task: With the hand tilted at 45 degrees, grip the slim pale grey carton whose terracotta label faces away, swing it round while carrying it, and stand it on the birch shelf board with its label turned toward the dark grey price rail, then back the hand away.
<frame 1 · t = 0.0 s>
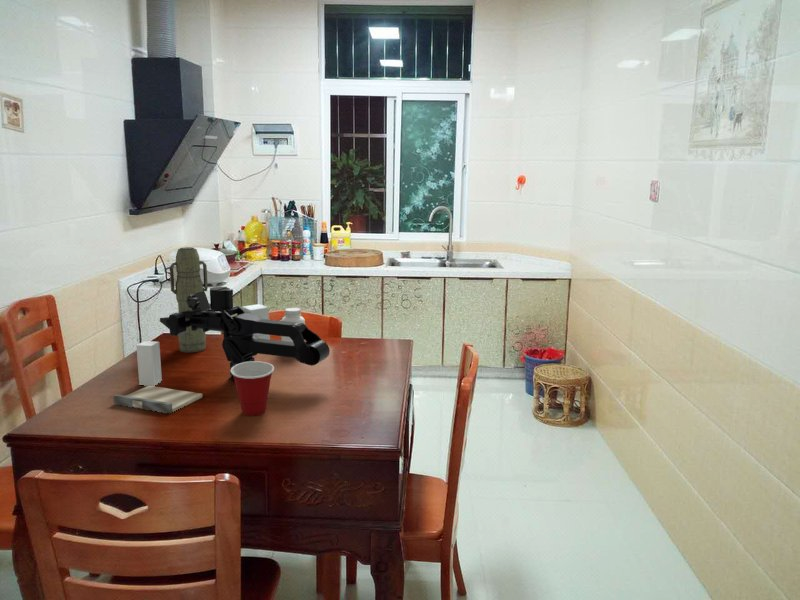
hand: (170, 316, 193), 17 cm above the table, tool horizontal, fingers open, 9 cm apart
grey carton: (150, 383, 182), on the table
supplement box: (256, 341, 230), on the table
plastic cup: (254, 412, 162), on the table
thermos: (192, 349, 218), on the table
pill bottle: (293, 352, 215), on the table
shelf board: (160, 400, 169), on the table
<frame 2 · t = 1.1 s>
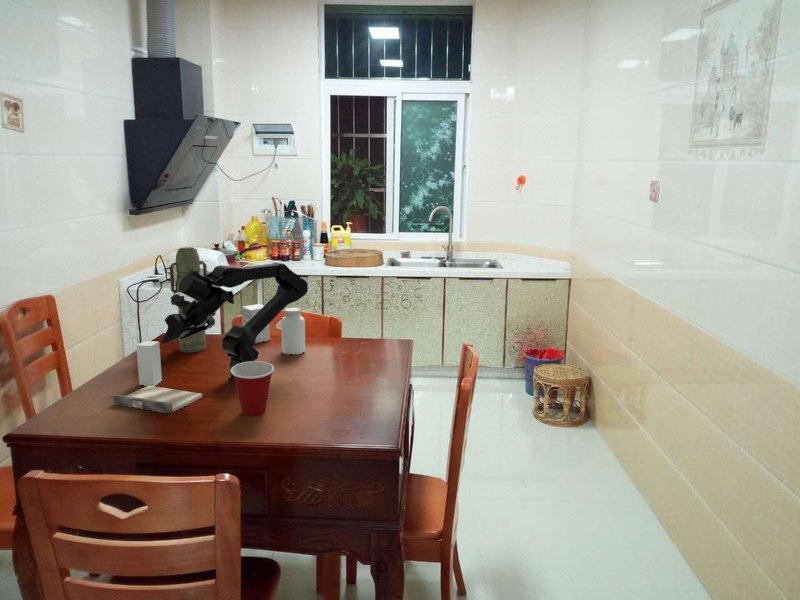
hand: (171, 340, 181), 13 cm above the table, tool tilted 45°, fingers open, 9 cm apart
nothing on the table moved.
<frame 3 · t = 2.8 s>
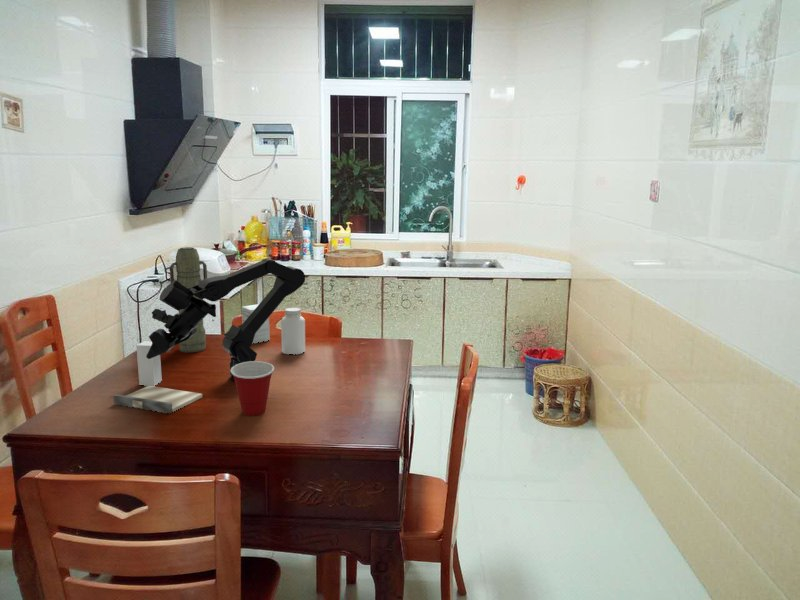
hand: (155, 353, 180), 9 cm above the table, tool tilted 45°, fingers open, 9 cm apart
nothing on the table moved.
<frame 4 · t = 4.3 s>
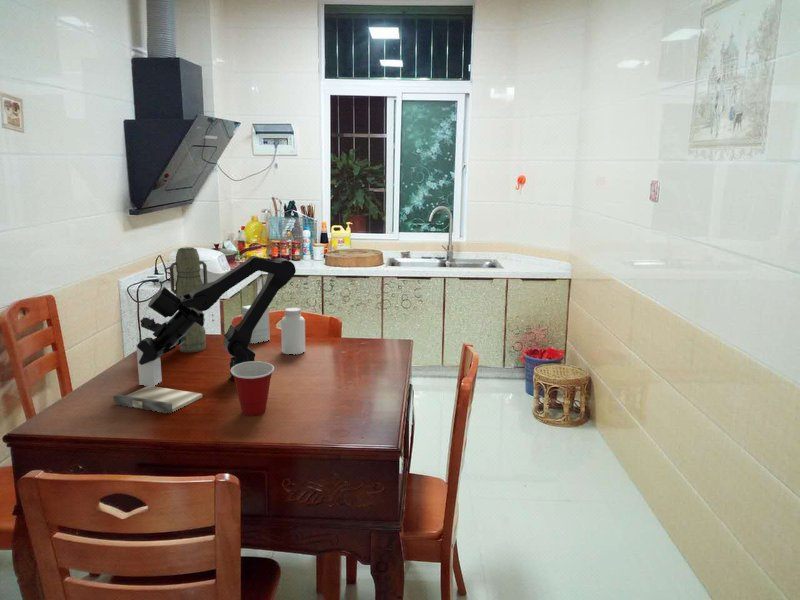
hand: (144, 361, 181), 7 cm above the table, tool tilted 45°, fingers closed on grey carton, 4 cm apart
grey carton: (150, 383, 182), on the table, touching gripper
everything else where it was.
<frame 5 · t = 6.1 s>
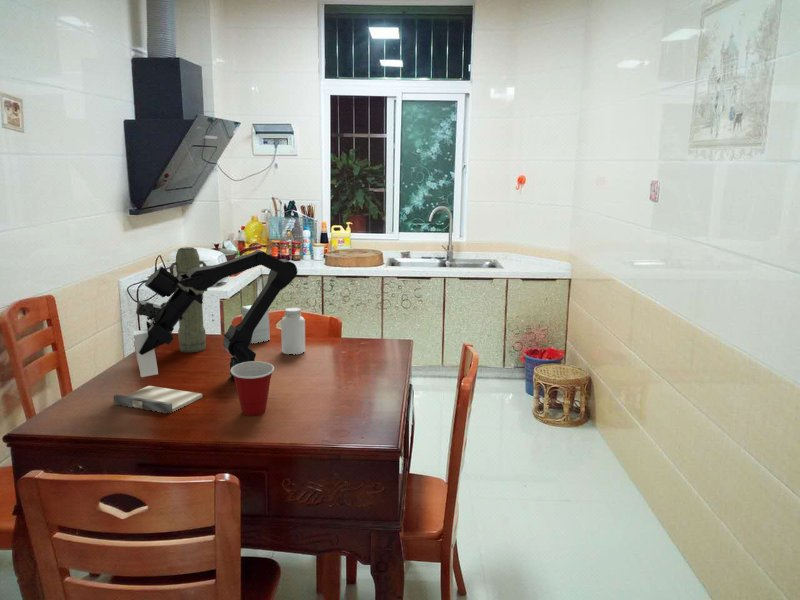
hand: (140, 351, 173), 12 cm above the table, tool tilted 40°, fingers closed on grey carton, 4 cm apart
grey carton: (149, 373, 175), point 5 cm above the table, touching gripper
everything else where it was.
when the fingers open (9 cm above the table, at t = 8.0 s): grey carton drops 1 cm, resting on shelf board.
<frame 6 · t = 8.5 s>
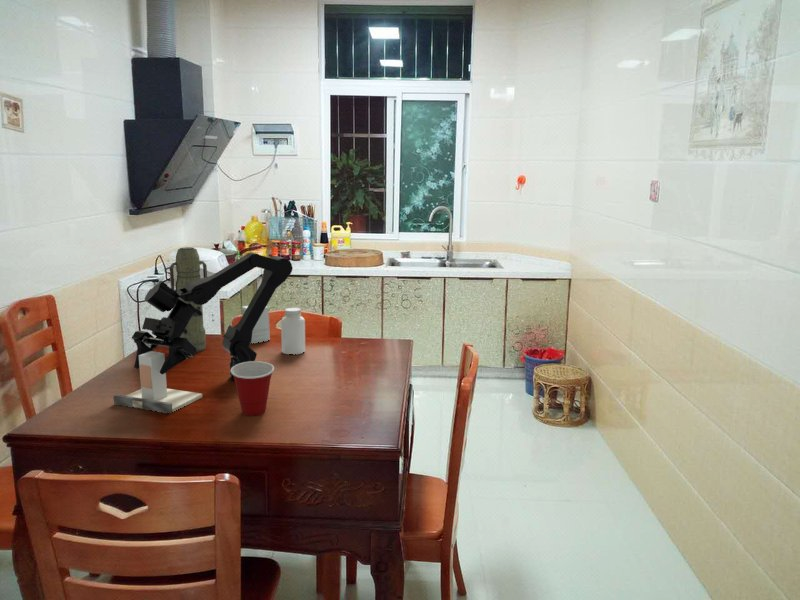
hand: (148, 371, 165), 9 cm above the table, tool tilted 45°, fingers open, 9 cm apart
grey carton: (154, 397, 168), point 1 cm above the table, touching shelf board
everything else where it was.
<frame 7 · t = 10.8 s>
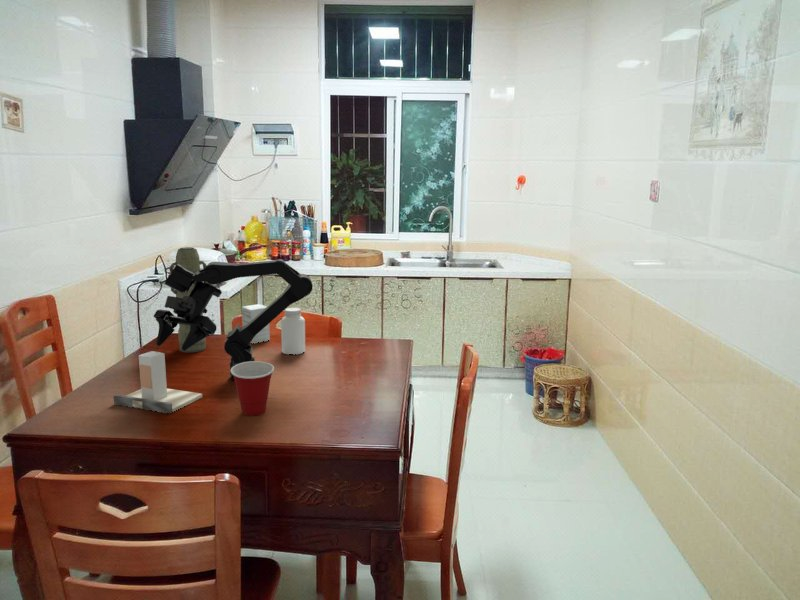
hand: (170, 347, 172), 13 cm above the table, tool tilted 45°, fingers open, 9 cm apart
nothing on the table moved.
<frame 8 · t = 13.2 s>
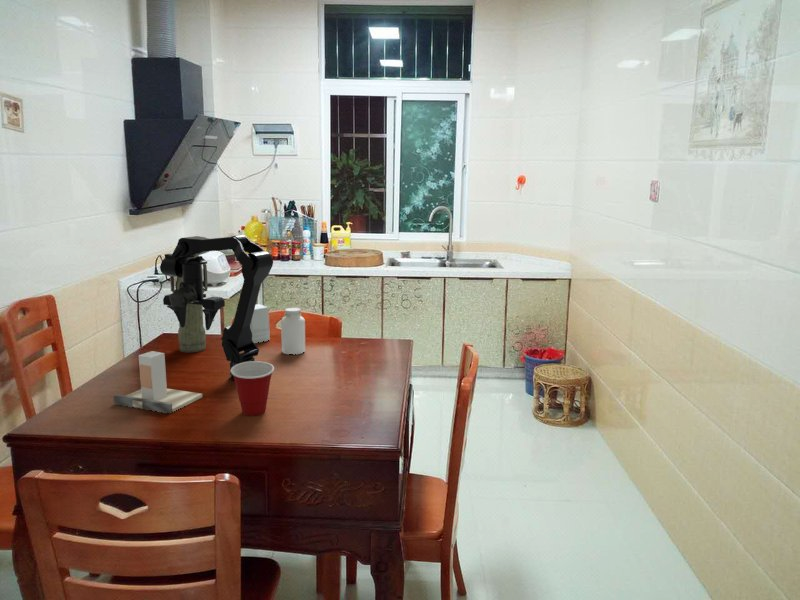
hand: (195, 328, 193), 13 cm above the table, tool pointing down, fingers open, 9 cm apart
nothing on the table moved.
at the end: grey carton inside the target area on the shelf board (0.5 cm from its centre), point 1.0 cm above the shelf board's base; grey carton tilted 0°; the gripper is holding nothing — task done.
